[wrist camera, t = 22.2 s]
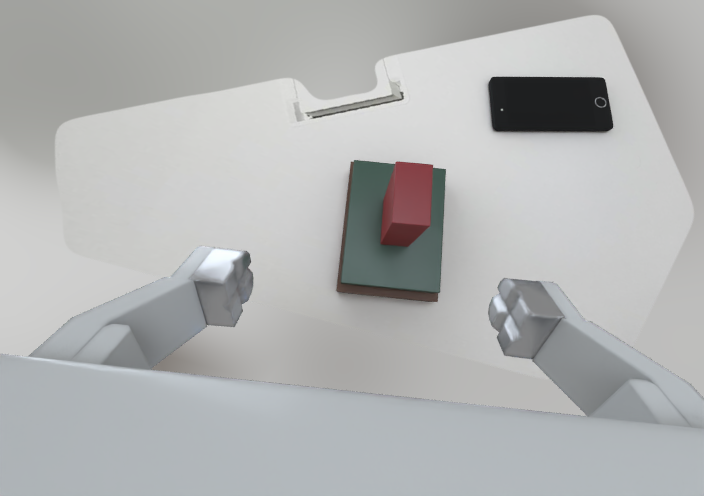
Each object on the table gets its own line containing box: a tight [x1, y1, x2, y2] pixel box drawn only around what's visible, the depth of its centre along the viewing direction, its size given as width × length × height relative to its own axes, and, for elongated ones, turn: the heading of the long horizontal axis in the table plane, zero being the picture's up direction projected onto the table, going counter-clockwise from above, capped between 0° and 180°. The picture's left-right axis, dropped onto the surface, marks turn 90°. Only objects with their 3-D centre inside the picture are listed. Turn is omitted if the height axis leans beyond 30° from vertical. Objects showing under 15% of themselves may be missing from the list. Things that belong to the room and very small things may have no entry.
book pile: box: [337, 160, 446, 302], centre depth 39 cm, size 18×13×6 cm
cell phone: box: [489, 77, 613, 131], centre depth 45 cm, size 9×18×1 cm, turn 90°
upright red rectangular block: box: [380, 162, 433, 247], centre depth 32 cm, size 6×4×10 cm, turn 175°
